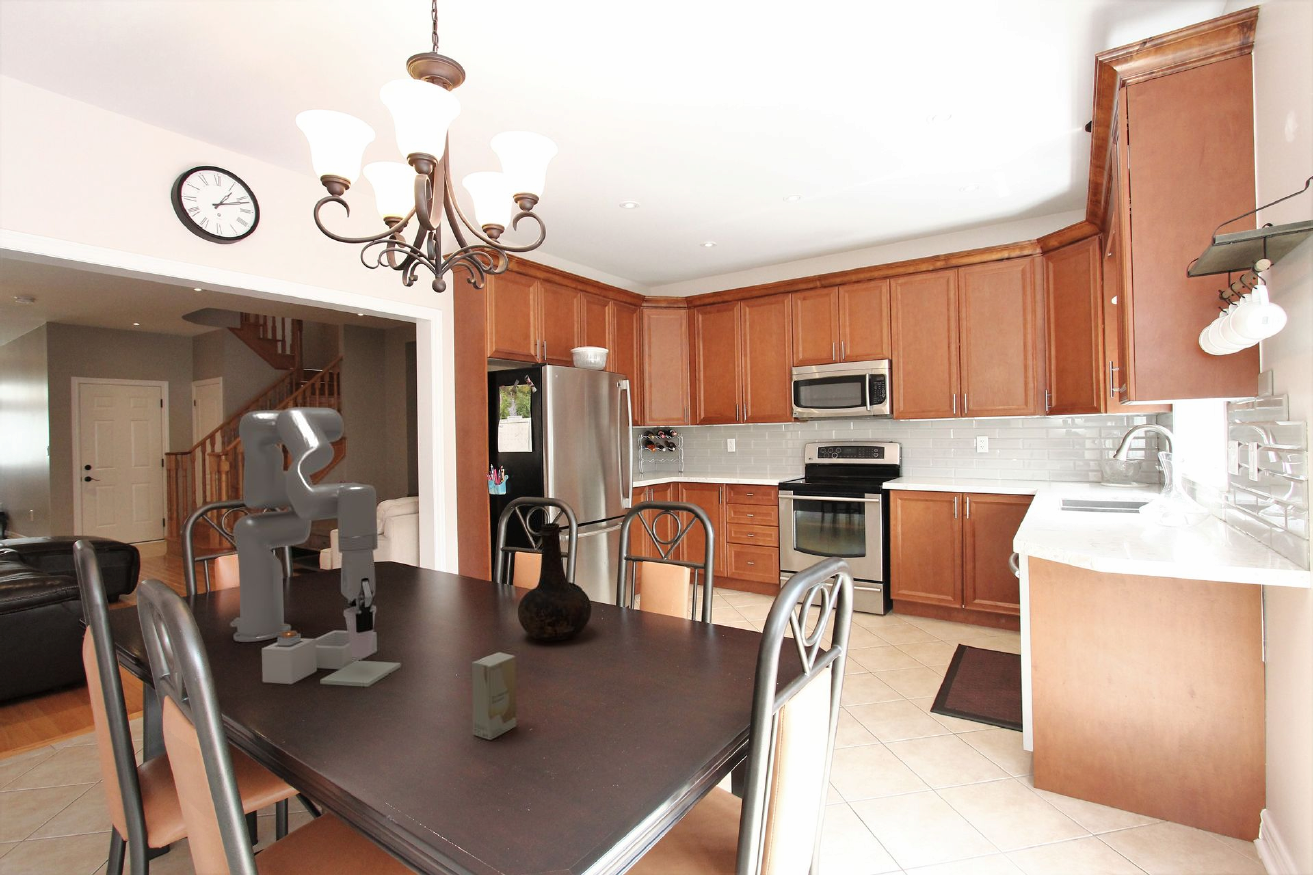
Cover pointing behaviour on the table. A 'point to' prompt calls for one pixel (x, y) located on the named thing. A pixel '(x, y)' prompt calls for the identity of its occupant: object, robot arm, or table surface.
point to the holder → (337, 650)
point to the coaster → (360, 673)
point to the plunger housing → (289, 662)
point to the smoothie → (358, 641)
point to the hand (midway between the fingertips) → (360, 626)
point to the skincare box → (494, 695)
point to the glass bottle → (553, 596)
